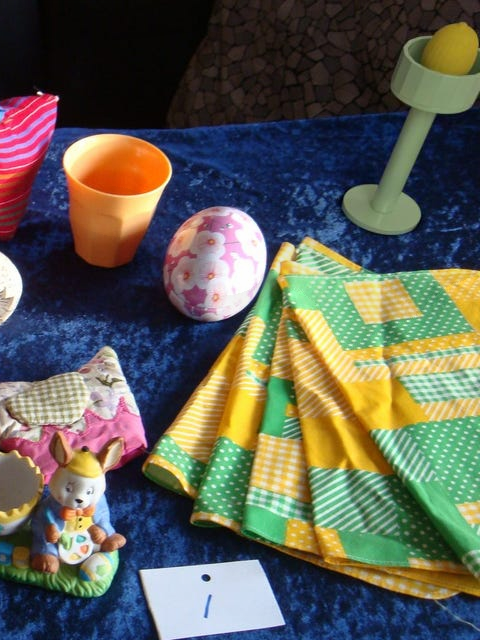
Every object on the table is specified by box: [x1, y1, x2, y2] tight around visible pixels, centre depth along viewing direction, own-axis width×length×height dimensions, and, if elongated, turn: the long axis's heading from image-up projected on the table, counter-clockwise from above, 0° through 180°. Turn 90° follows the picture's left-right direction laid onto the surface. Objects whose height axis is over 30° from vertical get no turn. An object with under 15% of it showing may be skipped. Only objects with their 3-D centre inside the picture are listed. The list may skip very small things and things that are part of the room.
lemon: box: [421, 21, 480, 76], centre depth 96 cm, size 6×6×8 cm
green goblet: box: [341, 35, 480, 236], centre depth 105 cm, size 10×10×23 cm
